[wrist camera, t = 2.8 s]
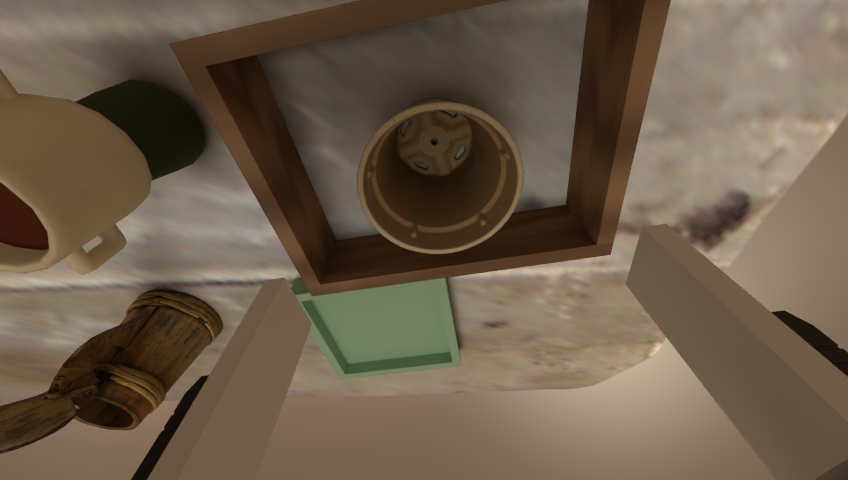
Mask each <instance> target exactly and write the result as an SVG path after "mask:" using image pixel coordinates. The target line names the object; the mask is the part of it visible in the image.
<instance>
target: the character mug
mask: <svg viewBox="0 0 848 480" xmlns="http://www.w3.org/2000/svg"><path fill="white" fill-rule="evenodd" d="M203 142H204V133H203V131H202V129H201V127H200V124H199V122H198V120H197V118H196V115H195V114H194V113H193V112H192V111H191V110H190V109H189V108H188V107H187V106H186V105H185V104H184V103H183V102H182V101H181V100H180V99H179V98H178V97H177V96H175V95H173V94H171V93H169V92H167V91H166V90H164V89H162V88H160V87H158V86H157V85H155V84H151V83H146V82H141V81H136V80H128V81H125V82H122V83H120V84H117V85H114V86H111V87H109V88H106V89H103V90H100V91H98V92H95V93H93V94H91V95H89V96H87V97H85V98H83V99H80V100H78V101H76V102H73V101H71V100H67V99H60V98H53V97H45V96H38V95H30V94H18V92H17V91H16V90H15V88H14V87H13V86H12V84H11V83H10V82H9V80H8V79H7V78H6V76H5V75H4V74H3V72H2V71H1V70H0V271H7V272H16V273H24V274H25V273H29V272H34V271H39V270H43V269H48V268H49V267H51V266H53V265H55V264H57V263H58V262H60V261H61V260H63V261H64V262H65V263H66V264H67V265H68V267H69V268H71V269H73V270H74V271H76V272H78V273H80V274H82V275H84V274H86V273H89V272H91V271H93V270H95V269H97V268H98V267H100V266H101V265H102V264H104V263H105V262H106V261H107V260H109V259H110V258H111V257H112V256H114V255H115V254H116V253H118V252H119V251H120V250H121V249H123V247H124V246H125V244H126V243H127V242H126V239H125V236H124V235H123V234H122V232H121V231H120V230H119V228H118V227H117V226H116V224H115V223H117V222H118V221H120V220H121V219H123V218H124V217H126V216H127V215H129V214H130V213H131V212H133V211H134V210H135V209H136V208H137V207H138V206H139V205H140V204H141V203H142V202H143V201H144V200H145V199H146V197H147V196H148V195H149V193H150V187H151V181H152V180H154V179H157V178H159V177H162V176H164V175H167V174H170V173H172V172H175V171H178V170H180V169H182V168H184V167H186V166H188V165H191V164H193V163H194V162H195V160H196V159H197V158H198V157H199V156H200V154H201V153H202V152H203ZM98 235H99V237H100V238H101V239H102V242H101V243H100V244H99V245H97V246H96V247H94V248H93V249H92V250H90V251H89V252H87V253H86V251H85V250H84V249H83V248H82V246H83V245H85V244H86V243H88V242H89V241H91V240H92V239H94V238H95V237H96V236H98Z"/></svg>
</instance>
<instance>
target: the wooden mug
mask: <svg viewBox="0 0 848 480" xmlns="http://www.w3.org/2000/svg"><path fill="white" fill-rule="evenodd" d="M221 330H222V322H221V320H220V318H219V316H218V315H217V314H216V313H215V312H214V311H213V310H212V309H211V308H210V307H209V306H208V305H206V304H205V303H203V302H201V301H199V300H197V299H195V298H193V297H190V296H187V295H184V294H181V293H176V292H165V291H156V292H149V293H146V294H144V295H141V296H140V297H138V298H137V299H136V300H135V301H134V302H133V304H132V305H131V306H130V307H129V308H128V309H127V311H126V317H125V319H124V320H123V321H122V323H121V324H120V325H119V326H117V327H114V328H111V329H109V330H106V331H104V332H102V333H100V334H98V335H96V336H94V337H92V338H91V339H89V340H88V341H87V342H86V343H84V344H83V345H82V346H80V347H79V348H78V349H77V350H76V351H75V352H74V353H73V354H72V355H71V356H70V357H69V358H68V359H67V360H66V362H65V363H64V364H63V365H62V367H61V368H60V370H59V372H58V373H57V375H56V376H55V378H54V380H53V382H52V384H51V386H50V388H49V391H47V392H45V393H42V394H40V395H37V396H34V397H31V398H28V399H25V400H21V401H17V402H13V403H9V404H6V405H2V406H0V454H2V453H6V452H9V451H13V450H15V449H18V448H21V447H24V446H26V445H29V444H32V443H34V442H36V441H38V440H40V439H42V438H44V437H47V436H49V435H51V434H53V433H55V432H56V431H58V430H59V429H61V428H63V427H64V426H66V425H67V424H68V423H69V422H70V421H71V420H72V419H73V418H74V419H76V420H78V421H80V422H83V423H85V424H88V425H91V426H95V427H100V428H104V429H111V430H115V429H116V430H132V429H134V428H136V427H137V426H138V425H139V424H140V423H141V422H142V421H143V419H144V418H145V417H146V416H147V415H148V414H149V413H152V412H153V411H154V410H155V409H156V408H157V407H158V406H159V405H160V404H161V403H162V402H163V400H164V399H165V397H166V393H167V392H168V391H169V389H170V388H171V387H172V386H173V384H174V383H175V382H176V381H177V380H178V379H179V377H180V376H181V375H182V374H183V373H184V372H185V370H186V369H187V368H188V367H189V366H190V365H191V364H192V362H193V361H194V360H195V359H196V358H197V357H198V355H199V354H200V353H201V352H202V351H203V350H204V348H205V347H206V346H208V345H209V344H210V343H212V341H213V340H214V339H215V338H216V337H217V336H218V335H219V334H220V332H221Z"/></svg>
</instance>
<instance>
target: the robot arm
mask: <svg viewBox="0 0 848 480" xmlns="http://www.w3.org/2000/svg"><path fill="white" fill-rule="evenodd" d="M626 285H627V287H628V288H629V289H630V290H631V292H632V293H633V294H634V296H635V297H636V298H637V300H638V301H639V302H640V303H641V305H642V306H643V307H644V309H645V310H646V311H647V313H648V314H649V315H650V316H651V318H652V319H653V320H654V322H655V323H656V324H657V326H658V327H659V328H660V329H661V331H662V332H663V333H664V335H665V336H666V337H667V339H668V340H669V341H670V342H671V343H672V345H673V346H674V347H675V349H676V350H677V351H678V353H679V354H680V355H681V357H682V358H683V359H684V361H685V362H686V363H687V365H688V366H689V367H690V368H691V370H692V371H693V372H694V374H695V375H696V376H697V378H698V379H699V380H700V381H701V383H702V384H703V385H704V387H705V388H706V389H707V391H708V392H709V393H710V395H711V396H712V397H713V398H714V400H715V401H716V402H717V404H718V405H719V406H720V408H721V409H722V410H723V411H724V413H725V414H726V415H727V417H728V418H729V419H730V421H731V422H732V423H733V425H734V426H735V427H736V428H737V430H738V431H739V432H740V434H741V435H742V436H743V438H744V439H745V440H746V441H747V443H748V444H749V445H750V447H751V448H752V449H753V450H754V452H755V453H756V454H757V455H758V457H759V458H760V460H761V461H762V462H763V464H764V465H765V466H766V467H767V469H768V470H769V471H770V473H771V474H772V475H773V477H774V478H775V479H776V480H848V353H847V352H846V351H845V350H844V349H840V348H838V346H837V344H836V343H835V342H834V341H832V340H831V339H830V338H829V337H827V336H826V335H825V334H823V333H822V332H821V331H820V330H818V329H817V328H816V327H815V326H813V325H811V324H809V323H807V322H805V321H803V320H801V319H800V318H798V317H796V316H794V315H792V314H790V313H788V312H786V311H776V312H770V311H769V310H768V309H767V308H765V307H764V306H763V305H762V304H761V303H759V302H758V301H757V300H756V299H755V298H753V297H752V296H751V295H750V294H749V293H748V292H746V291H745V290H744V289H743V288H742V287H740V286H739V285H738V284H737V283H736V282H734V281H733V280H732V279H731V278H730V277H729V276H727V275H726V274H725V273H724V272H723V271H721V270H720V269H719V268H718V267H717V266H715V265H714V264H713V263H712V262H711V261H709V260H708V259H707V258H706V257H705V256H704V255H702V254H701V253H700V252H699V251H698V250H696V249H695V248H694V247H693V246H692V245H690V244H689V243H688V242H687V241H686V240H684V239H683V238H682V237H681V236H680V235H679V234H677V233H676V232H675V231H674V230H673V229H671V228H670V227H669V226H668V225H667V224H661V225H654V226H647V227H642V230H641V233H640V237H639V240H638V244H637V247H636V251H635V254H634V257H633V261H632V264H631V268H630V271H629V275H628V278H627V282H626ZM311 325H312V323H311V321H310V319H309V318H308V316H307V314H306V313H305V311H304V309H303V308H302V306H301V304H300V303H299V301H298V299H297V298H296V296H295V294H294V293H293V291H292V289H291V288H290V286H289V284H288V283H287V281H286V280H285V278H279V279H272V280H266V281H265V283H264V284H263V286H262V288H261V289H260V291H259V293H258V294H257V296H256V298H255V299H254V301H253V303H252V305H251V306H250V308H249V310H248V311H247V313H246V315H245V316H244V318H243V320H242V321H241V323H240V325H239V326H238V328H237V330H236V331H235V333H234V335H233V336H232V338H231V340H230V341H229V343H228V345H227V346H226V348H225V350H224V351H223V353H222V355H221V357H220V358H219V360H218V362H217V363H216V365H215V367H214V368H213V370H212V372H211V373H210V375H208V376H202V377H201V378H200V379H199V380H198V381H197V382H196V383H195V384H194V385H193V386H192V387H191V388H190V389H189V390H188V391H187V392H186V393H185V395H184V396H183V398H182V400H181V401H180V403H179V405H178V406H177V408H176V409H175V411H174V415H172V416H171V417H170V419H169V420H168V422H167V424H166V425H165V427H164V431H162V432H161V433H160V435H159V436H158V438H157V439H156V441H155V442H154V444H153V446H152V447H151V449H150V450H149V452H148V454H147V455H146V457H145V458H144V460H143V461H142V463H141V465H140V466H139V468H138V469H137V471H136V473H135V474H134V476H133V477H132V479H131V480H256V477H257V474H258V471H259V468H260V466H261V463H262V460H263V458H264V455H265V452H266V449H267V446H268V443H269V441H270V438H271V435H272V433H273V430H274V427H275V424H276V422H277V419H278V416H279V413H280V410H281V408H282V405H283V402H284V399H285V397H286V394H287V391H288V388H289V386H290V383H291V380H292V377H293V374H294V372H295V369H296V366H297V363H298V361H299V358H300V355H301V352H302V350H303V347H304V344H305V341H306V338H307V336H308V333H309V330H310V327H311Z"/></svg>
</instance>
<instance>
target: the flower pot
mask: <svg viewBox="0 0 848 480" xmlns="http://www.w3.org/2000/svg"><path fill="white" fill-rule="evenodd" d="M441 110H445V111H452V112H456V117H451V116H450V115H448V114H447V113H444V112H442V111H441ZM406 120H409V121H410V123H409V126H408V128H407V130H406V133H405V135H404V136H403V135H401V127H402V125H403V123H404V122H405V121H406ZM433 139H435V140H436V142H437V144H435V145H433V144H432V142H431V141H432V140H433ZM460 146H464V147H465V151H464V152H463V154H462V155H461V156H460V158H459V159H457V160H456V159H455V155H456V153H457V152H458V150H459V148H460ZM416 162H417V163H420V164H422V163H423V165H424V166H426V167H427V170H426V169H422V168H420V167H418V166H417V165H416V164H415V163H416ZM523 174H524V169H523V164H522V158H521V155H520V151H519V149H518V147H517V145H516V143H515V141H514V139H513V137H512V136H511V135H510V133H509V132H508V131H507V130H506V129H505V128H504V127H503V126H502V125H501V124H500V123H499V122H498V121H497V120H496V119H494V118H493V117H491V116H490V115H489V114H487V113H485V112H483V111H482V110H479V109H477V108H474V107H471V106H469V105H465V104H461V103H455V102H450V101H447V100H443V99H436V98H434V99H427V100H423V101H420V102H418V103H416V104H414V105H412V106H411V107H409V108H408V109H406V110H404V111H402V112H400V113H399V114H397V115H395V116H394V117H392V118H391V119H389V120H388V121H387V122H386V123H384V124H383V125H382V126H381V127H380V128H379V129H378V130H377V132H376V133H375V134H374V135H373V136H372V138H371V139H370V141H369V142H368V144H367V146H366V148H365V150H364V152H363V155H362V157H361V160H360V164H359V169H358V175H357V189H358V195H359V199H360V202H361V206H362V208H363V210H364V212H365V214H366V216H367V218H368V219H369V221H370V222H371V224H372V225H373V226H374V228H375V229H377V230H378V231H379V232H380V233H381V234H382V235H383V236H384V237H386V238H387V239H388V240H390V241H391V242H393V243H394V244H397V245H399V246H400V247H403V248H406V249H408V250H412V251H415V252H421V253H429V254H441V253H442V254H446V253H453V252H457V251H462V250H465V249H468V248H470V247H472V246H475V245H477V244H479V243H481V242H483V241H484V240H486V239H488V238H489V237H491V236H492V235H494V233H495V232H497V231H498V230H499V229H500V228H501V227H502V226H503V225H504V224H505V223H506V221H507V220H508V219H509V218H510V216H511V214H512V212H513V211H514V209H515V208H516V205H517V203H518V201H519V198H520V195H521V190H522V185H523V178H524V175H523Z"/></svg>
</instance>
